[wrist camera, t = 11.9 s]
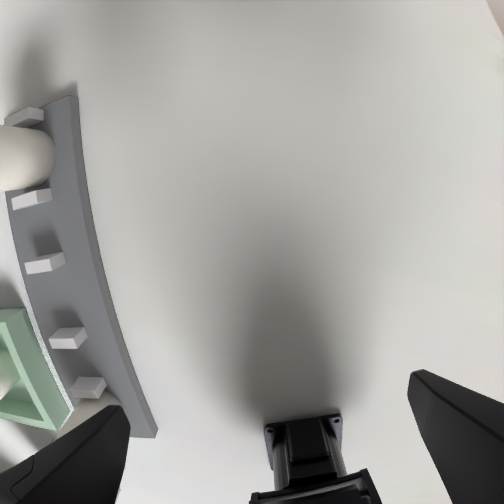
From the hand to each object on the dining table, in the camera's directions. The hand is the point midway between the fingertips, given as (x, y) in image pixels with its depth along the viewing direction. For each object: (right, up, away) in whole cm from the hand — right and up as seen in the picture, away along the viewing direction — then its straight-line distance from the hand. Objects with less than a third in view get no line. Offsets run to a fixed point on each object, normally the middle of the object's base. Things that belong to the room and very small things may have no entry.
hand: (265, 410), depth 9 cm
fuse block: (-14, +2, +12) cm, 19 cm away
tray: (-24, -6, +14) cm, 29 cm away
